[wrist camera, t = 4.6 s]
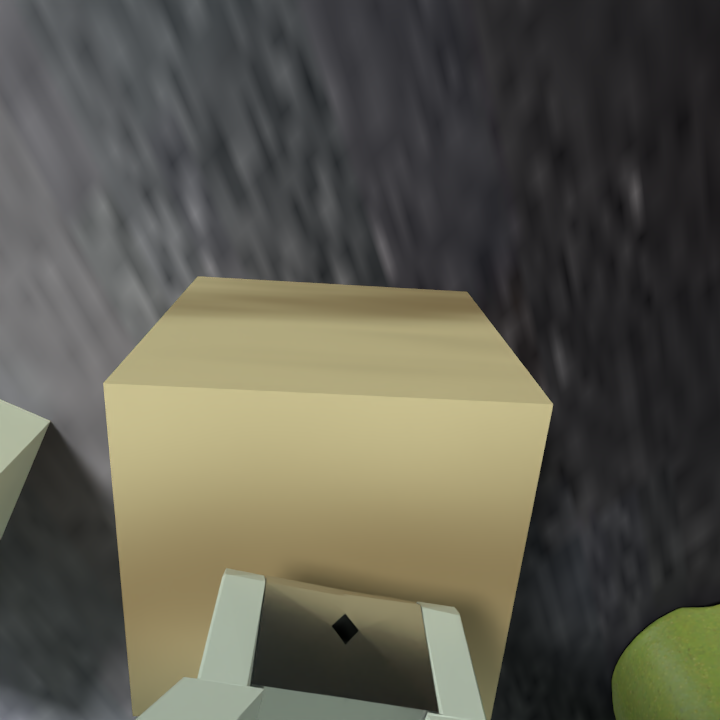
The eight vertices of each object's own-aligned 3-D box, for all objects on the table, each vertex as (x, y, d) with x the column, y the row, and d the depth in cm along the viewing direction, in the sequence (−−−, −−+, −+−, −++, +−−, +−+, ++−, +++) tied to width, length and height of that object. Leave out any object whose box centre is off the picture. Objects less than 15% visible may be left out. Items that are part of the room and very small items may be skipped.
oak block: (198, 275, 14) (103, 383, 8) (466, 291, 14) (552, 404, 8) (204, 505, 16) (133, 716, 10) (436, 513, 16) (489, 721, 11)
